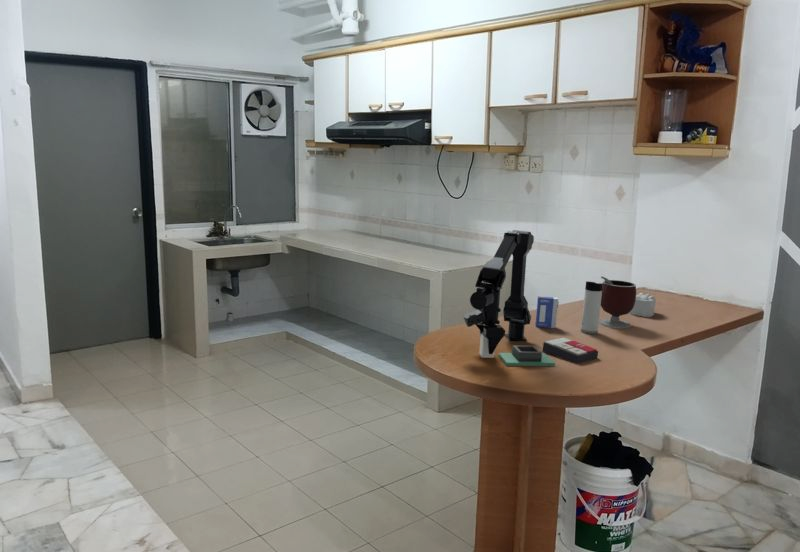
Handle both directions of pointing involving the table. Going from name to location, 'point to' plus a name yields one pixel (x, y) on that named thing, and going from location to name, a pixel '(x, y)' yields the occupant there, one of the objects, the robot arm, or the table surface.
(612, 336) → the table surface
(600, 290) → the travel mug
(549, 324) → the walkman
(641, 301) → the lumpy-topped squat cylinder
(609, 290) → the mate gourd
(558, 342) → the dark panelled flat block
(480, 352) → the plug
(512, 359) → the board
